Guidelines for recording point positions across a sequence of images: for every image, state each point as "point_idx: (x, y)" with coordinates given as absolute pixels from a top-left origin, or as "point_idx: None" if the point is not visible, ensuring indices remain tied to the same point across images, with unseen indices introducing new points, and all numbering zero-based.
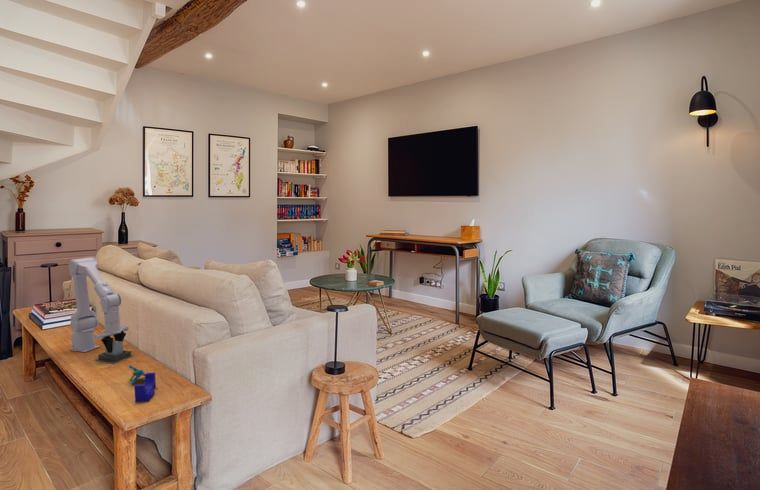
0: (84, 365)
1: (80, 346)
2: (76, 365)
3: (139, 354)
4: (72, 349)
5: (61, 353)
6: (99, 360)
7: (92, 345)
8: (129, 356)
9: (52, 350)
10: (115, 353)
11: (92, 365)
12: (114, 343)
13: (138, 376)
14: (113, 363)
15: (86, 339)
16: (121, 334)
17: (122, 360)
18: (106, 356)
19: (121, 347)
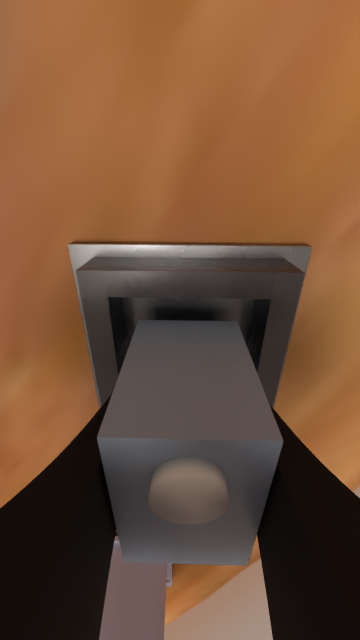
0: (353, 422)
1: (164, 587)
2: (353, 456)
3: (13, 218)
4: (170, 580)
5: (210, 579)
6: (274, 402)
7: (117, 564)
8: (120, 246)
9: (193, 606)
10: (241, 336)
11: (352, 381)
12: (245, 467)
13: None
14: (304, 257)
15: (138, 636)
16: None
17: (210, 243)
18: (277, 380)
19: (145, 364)
